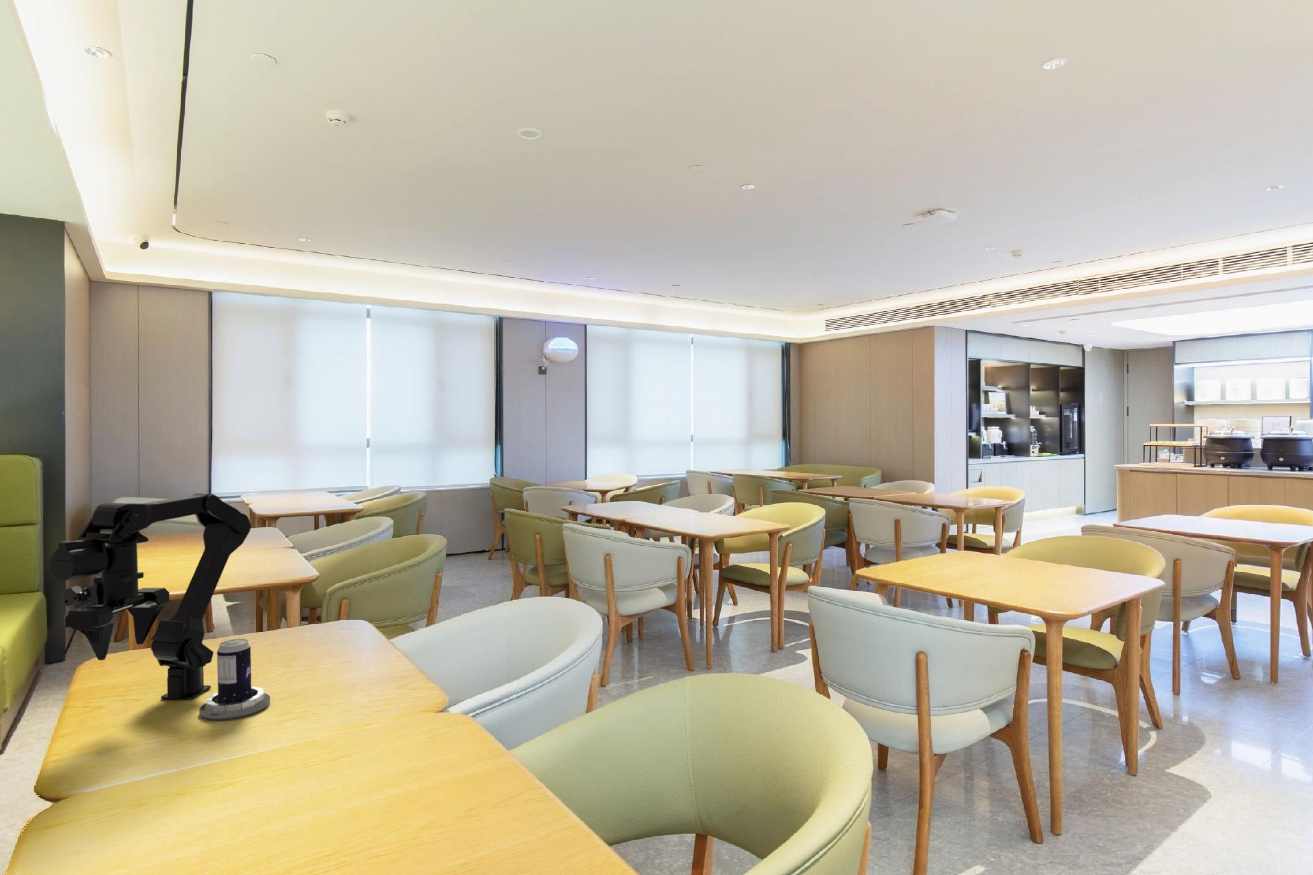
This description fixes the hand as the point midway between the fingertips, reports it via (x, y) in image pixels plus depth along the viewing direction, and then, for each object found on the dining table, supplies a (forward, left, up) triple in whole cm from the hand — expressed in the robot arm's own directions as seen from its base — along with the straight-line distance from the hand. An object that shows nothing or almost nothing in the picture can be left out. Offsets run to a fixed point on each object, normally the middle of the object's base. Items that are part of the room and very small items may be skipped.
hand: (121, 651), depth 137 cm
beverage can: (-6, +18, -12) cm, 23 cm away
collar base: (-6, +18, -13) cm, 23 cm away
